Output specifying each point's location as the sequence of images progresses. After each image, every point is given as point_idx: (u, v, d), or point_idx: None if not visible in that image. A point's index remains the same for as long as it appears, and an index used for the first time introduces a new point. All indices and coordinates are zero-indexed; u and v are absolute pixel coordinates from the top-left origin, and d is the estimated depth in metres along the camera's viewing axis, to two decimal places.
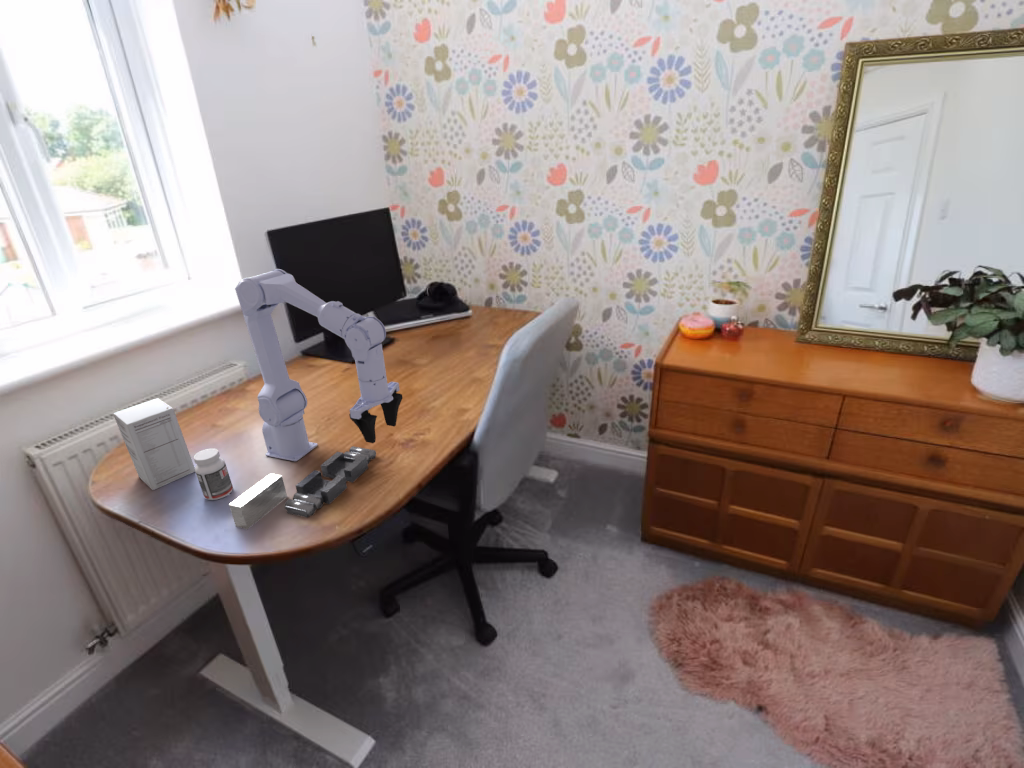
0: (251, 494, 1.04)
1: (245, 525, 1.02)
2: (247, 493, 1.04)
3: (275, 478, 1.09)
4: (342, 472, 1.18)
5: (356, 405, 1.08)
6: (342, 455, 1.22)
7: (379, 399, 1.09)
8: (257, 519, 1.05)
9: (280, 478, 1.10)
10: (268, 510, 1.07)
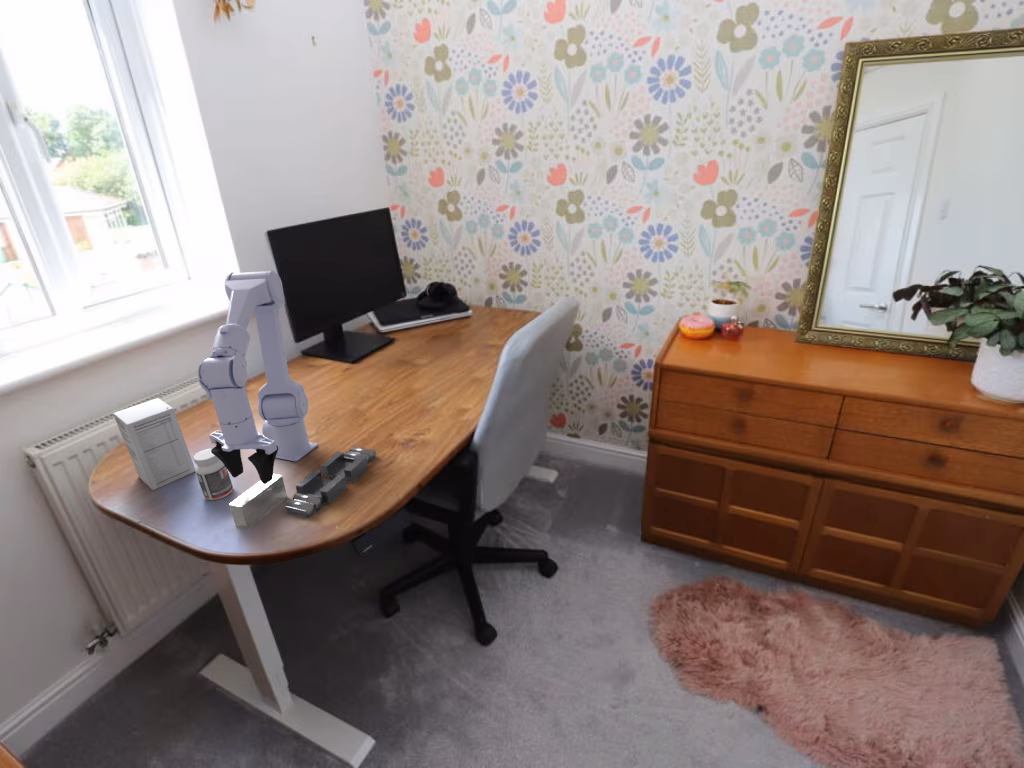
0: (251, 494, 1.04)
1: (245, 525, 1.02)
2: (247, 493, 1.04)
3: (275, 478, 1.09)
4: (342, 472, 1.18)
5: None
6: (342, 455, 1.22)
7: (224, 441, 0.99)
8: (257, 519, 1.05)
9: (280, 478, 1.10)
10: (268, 510, 1.07)
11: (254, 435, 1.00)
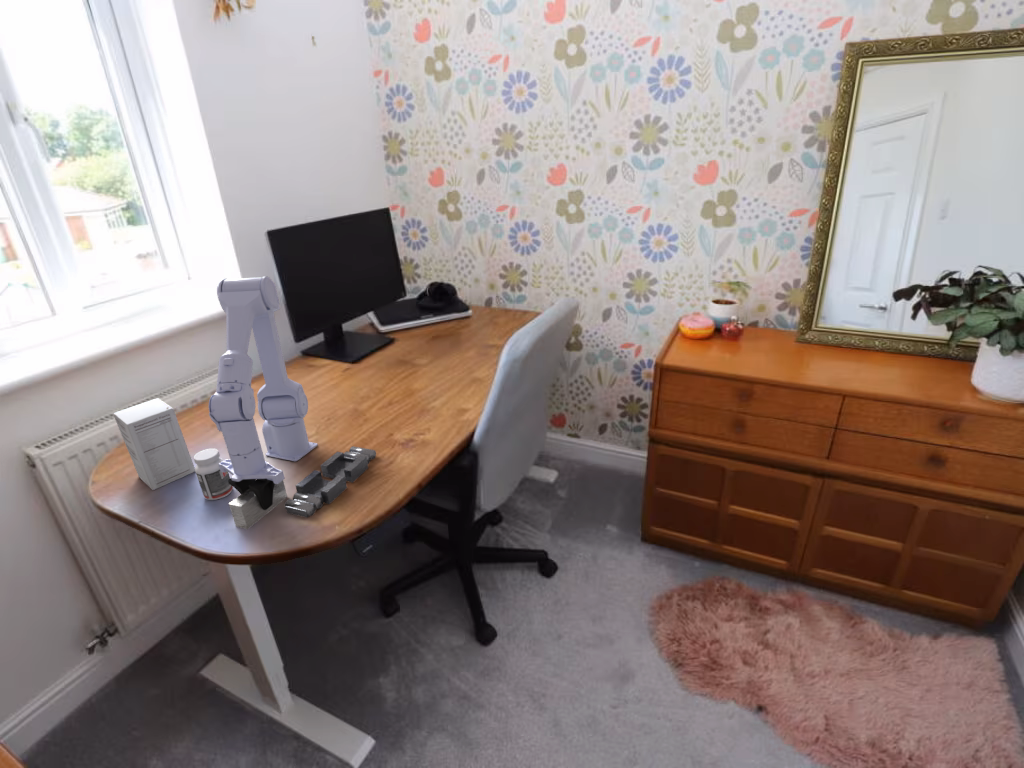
0: (251, 493, 1.04)
1: (245, 525, 1.02)
2: (247, 493, 1.04)
3: None
4: (342, 472, 1.18)
5: None
6: (342, 455, 1.22)
7: (233, 471, 1.02)
8: (257, 518, 1.05)
9: None
10: (268, 509, 1.07)
11: (262, 464, 1.03)
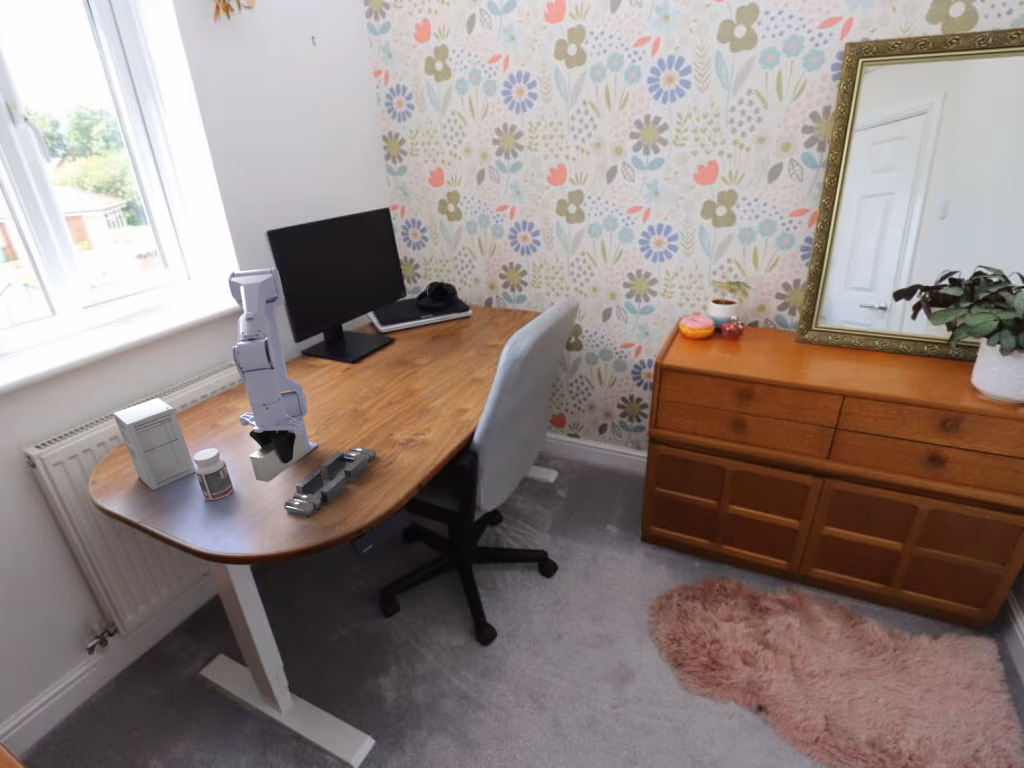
0: (271, 447, 1.04)
1: (266, 477, 1.02)
2: (267, 446, 1.04)
3: None
4: (342, 472, 1.18)
5: None
6: (342, 455, 1.22)
7: (255, 423, 1.02)
8: (277, 472, 1.04)
9: None
10: (288, 464, 1.07)
11: (284, 417, 1.03)
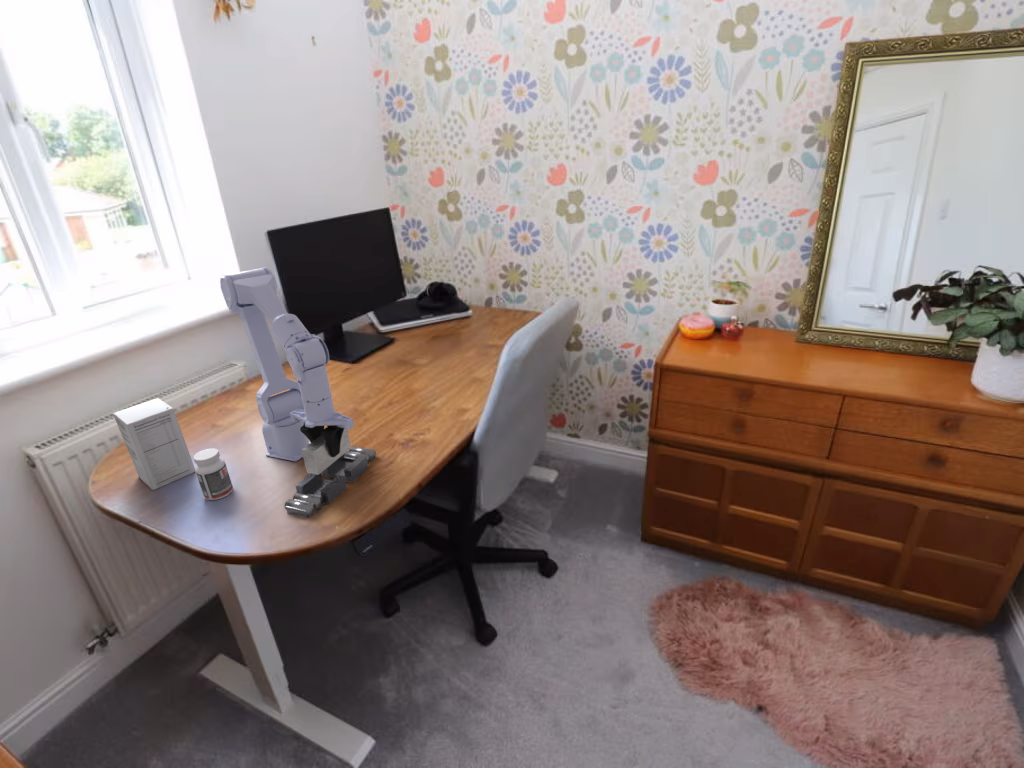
0: (321, 441, 1.10)
1: (317, 470, 1.08)
2: (316, 441, 1.10)
3: None
4: (342, 472, 1.18)
5: (305, 411, 1.12)
6: (342, 455, 1.22)
7: (306, 418, 1.08)
8: (326, 465, 1.11)
9: None
10: (335, 458, 1.13)
11: (333, 413, 1.09)
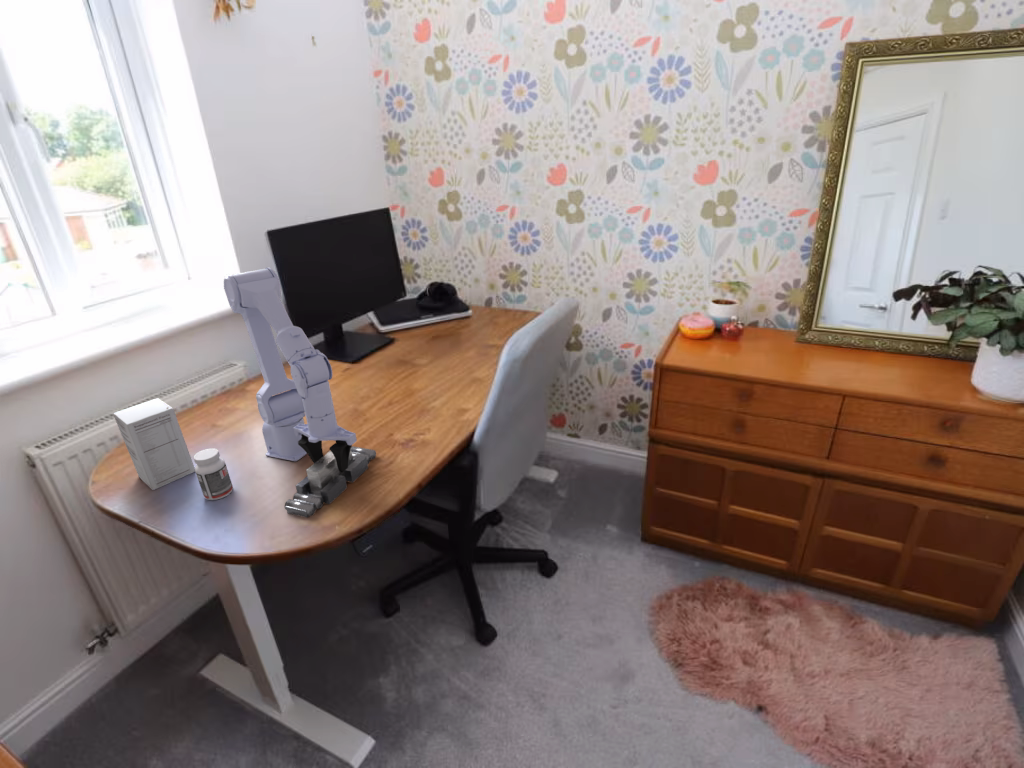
0: (325, 461, 1.12)
1: None
2: (321, 460, 1.12)
3: None
4: None
5: None
6: None
7: (309, 433, 1.09)
8: None
9: None
10: None
11: (336, 427, 1.10)
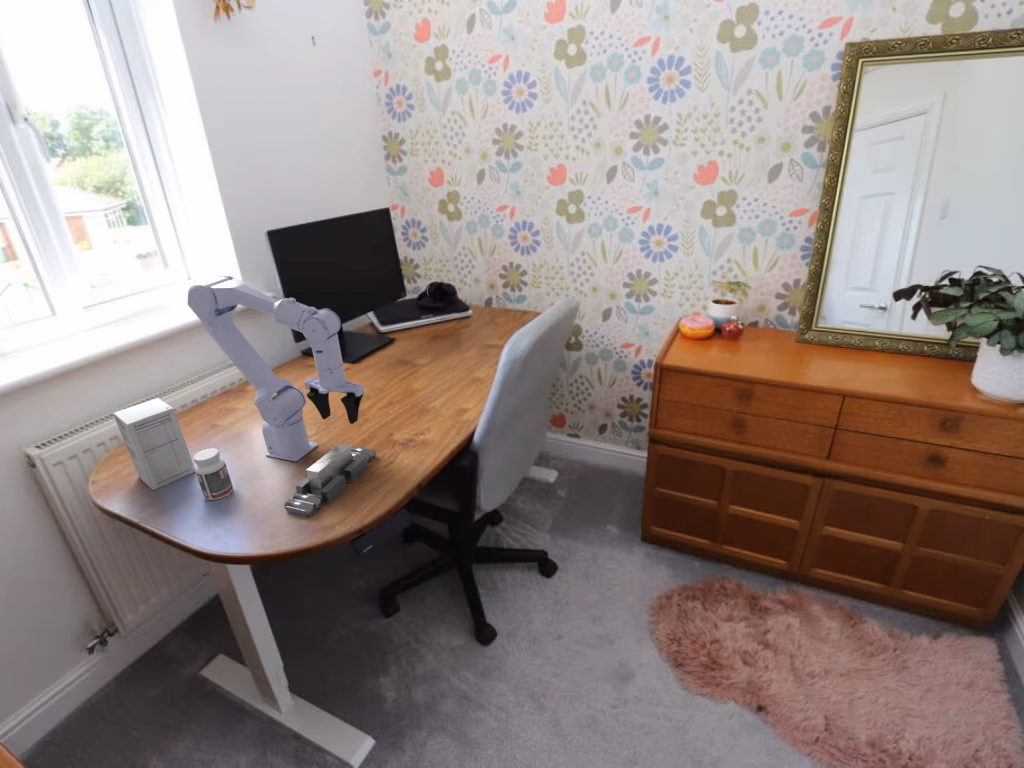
0: (325, 461, 1.12)
1: None
2: (321, 460, 1.12)
3: (344, 448, 1.17)
4: None
5: (318, 380, 1.21)
6: None
7: (320, 386, 1.17)
8: None
9: (349, 448, 1.17)
10: None
11: (344, 381, 1.18)
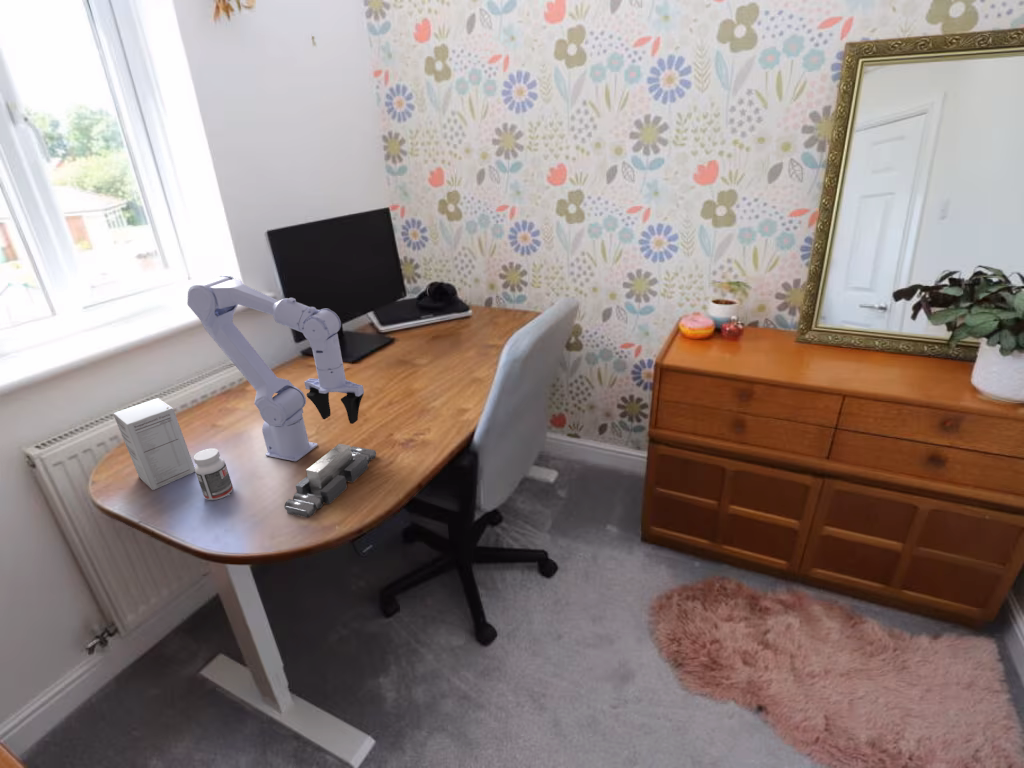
0: (325, 461, 1.12)
1: None
2: (321, 460, 1.12)
3: (344, 448, 1.17)
4: None
5: (318, 380, 1.21)
6: None
7: (320, 386, 1.17)
8: None
9: (349, 448, 1.17)
10: None
11: (344, 381, 1.18)
